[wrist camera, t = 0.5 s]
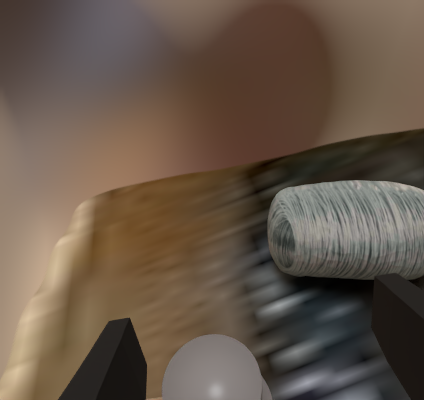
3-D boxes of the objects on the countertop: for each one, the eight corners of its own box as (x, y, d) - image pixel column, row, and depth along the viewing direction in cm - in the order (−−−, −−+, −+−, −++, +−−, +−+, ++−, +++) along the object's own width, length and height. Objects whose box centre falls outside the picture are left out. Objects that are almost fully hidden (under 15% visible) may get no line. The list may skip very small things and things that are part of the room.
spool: (250, 289, 28) (283, 169, 24) (259, 240, 37) (284, 147, 33) (429, 341, 26) (492, 219, 23) (393, 276, 35) (435, 181, 31)
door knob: (285, 465, 22) (283, 444, 18) (176, 481, 22) (151, 463, 18) (263, 354, 27) (258, 319, 23) (174, 368, 28) (155, 336, 24)
